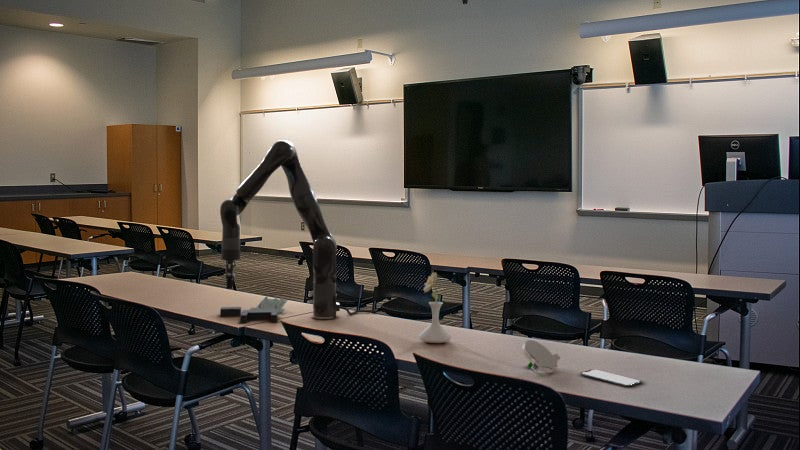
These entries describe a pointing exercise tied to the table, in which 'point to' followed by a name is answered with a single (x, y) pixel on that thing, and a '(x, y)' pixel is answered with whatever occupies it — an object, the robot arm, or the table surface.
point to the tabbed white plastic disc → (539, 357)
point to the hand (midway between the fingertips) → (230, 287)
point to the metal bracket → (271, 304)
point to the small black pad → (230, 311)
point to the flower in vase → (434, 318)
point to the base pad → (258, 315)
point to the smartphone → (610, 377)
